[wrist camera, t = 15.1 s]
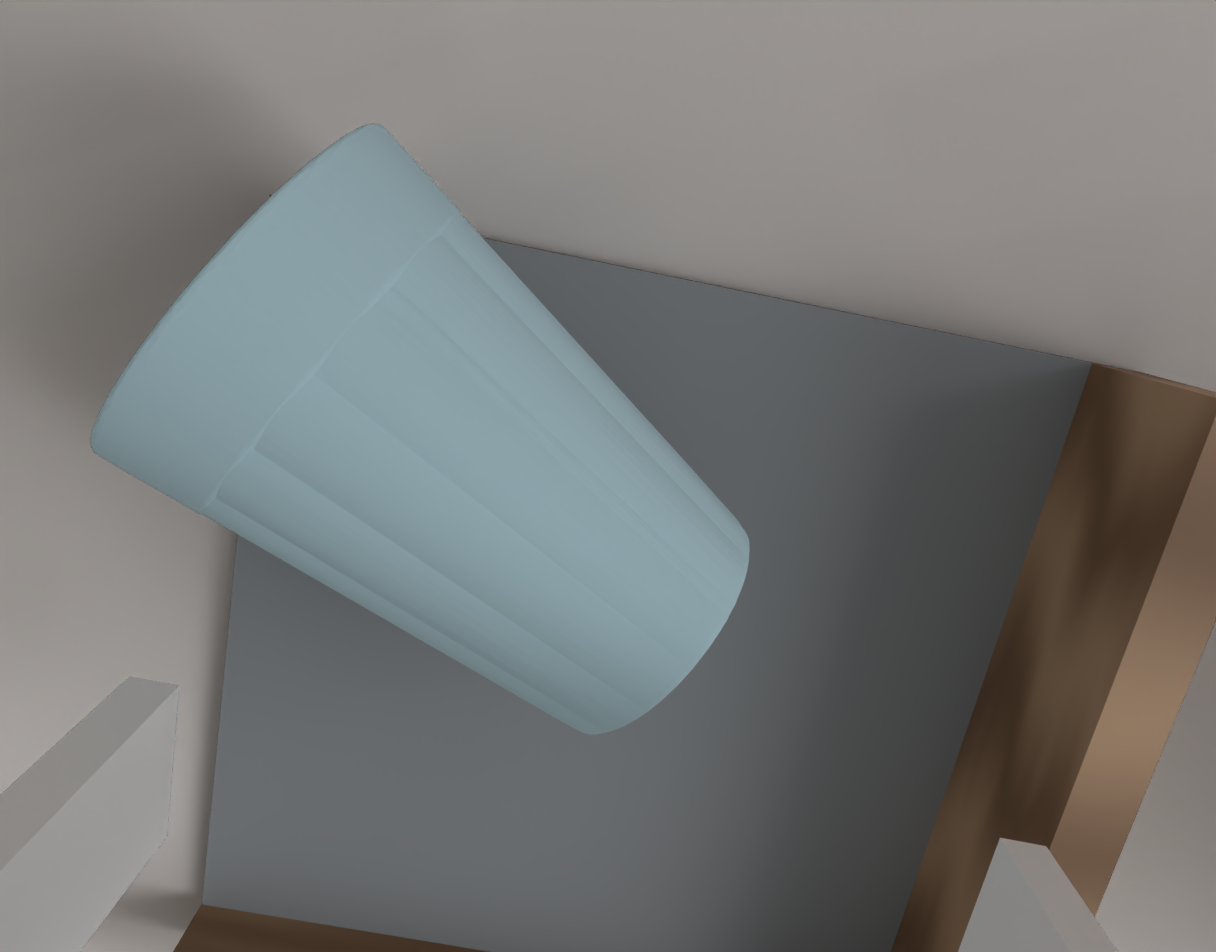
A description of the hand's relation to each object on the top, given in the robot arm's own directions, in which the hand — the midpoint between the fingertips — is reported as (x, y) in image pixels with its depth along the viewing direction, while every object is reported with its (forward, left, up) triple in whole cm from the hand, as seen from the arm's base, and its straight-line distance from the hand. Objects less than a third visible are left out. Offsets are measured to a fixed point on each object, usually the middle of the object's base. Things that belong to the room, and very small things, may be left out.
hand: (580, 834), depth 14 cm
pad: (+1, +1, -9) cm, 9 cm away
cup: (-2, -1, -9) cm, 10 cm away
